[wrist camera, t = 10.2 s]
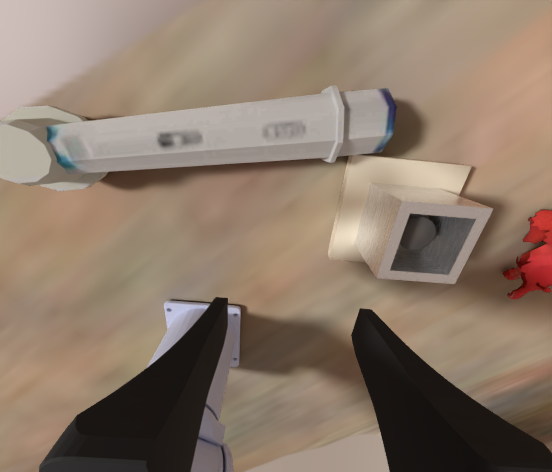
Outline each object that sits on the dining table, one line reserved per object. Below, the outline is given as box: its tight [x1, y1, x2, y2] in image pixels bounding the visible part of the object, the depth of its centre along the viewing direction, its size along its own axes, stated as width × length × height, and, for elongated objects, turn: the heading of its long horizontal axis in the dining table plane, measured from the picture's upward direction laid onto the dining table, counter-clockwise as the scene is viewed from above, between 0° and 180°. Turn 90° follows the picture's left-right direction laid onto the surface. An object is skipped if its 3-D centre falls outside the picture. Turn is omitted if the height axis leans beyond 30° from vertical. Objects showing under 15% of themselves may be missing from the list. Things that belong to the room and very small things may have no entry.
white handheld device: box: [0, 85, 397, 191], centre depth 15 cm, size 5×7×25 cm
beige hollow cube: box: [354, 183, 493, 284], centre depth 16 cm, size 5×5×5 cm
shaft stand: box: [328, 154, 472, 262], centre depth 18 cm, size 9×9×4 cm
